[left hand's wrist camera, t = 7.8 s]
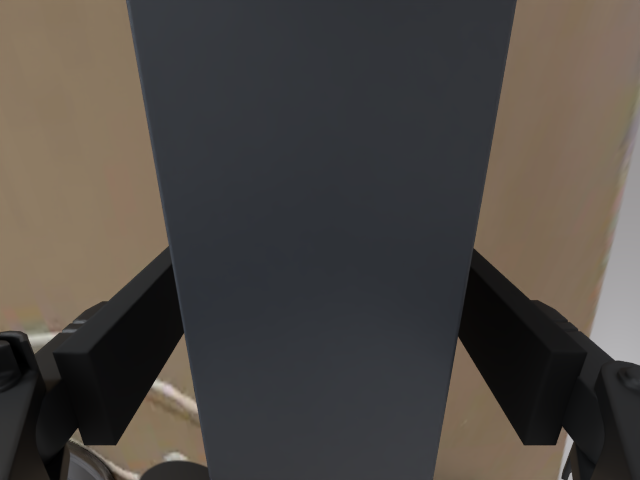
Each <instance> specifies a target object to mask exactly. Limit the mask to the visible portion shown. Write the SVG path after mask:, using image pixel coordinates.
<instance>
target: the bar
mask: <svg viewBox="0 0 640 480" xmlns="http://www.w3.org/2000/svg"><path fill="white" fill-rule="evenodd" d="M516 2H517V0H126V3H127V8H128V14H129V20H130V25H131V31H132V37H133V43H134V48H135V54H136V60H137V65H138V71H139V77H140V82H141V88H142V94H143V100H144V105H145V111H146V117H147V122H148V128H149V134H150V140H151V145H152V151H153V157H154V162H155V168H156V174H157V180H158V185H159V191H160V197H161V202H162V208H163V214H164V220H165V225H166V231H167V237H168V242H169V248H170V254H171V260H172V265H173V271H174V277H175V282H176V288H177V294H178V300H179V305H180V311H181V317H182V322H183V328H184V334H185V340H186V345H187V351H188V357H189V362H190V368H191V374H192V380H193V385H194V391H195V397H196V402H197V408H198V414H199V420H200V425H201V431H202V437H203V442H204V448H205V454H206V460H207V465H208V471H209V476H210V480H433V476H434V470H435V464H436V458H437V453H438V447H439V441H440V436H441V430H442V424H443V419H444V413H445V407H446V401H447V396H448V390H449V384H450V379H451V373H452V367H453V361H454V356H455V350H456V344H457V339H458V333H459V327H460V321H461V316H462V310H463V304H464V299H465V293H466V287H467V281H468V276H469V270H470V264H471V259H472V253H473V247H474V241H475V236H476V230H477V224H478V219H479V213H480V207H481V202H482V196H483V190H484V184H485V179H486V173H487V167H488V162H489V156H490V150H491V144H492V139H493V133H494V127H495V122H496V116H497V110H498V104H499V99H500V93H501V87H502V82H503V76H504V70H505V64H506V59H507V53H508V47H509V42H510V36H511V30H512V24H513V19H514V13H515V7H516Z"/></svg>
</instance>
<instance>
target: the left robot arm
mask: <svg viewBox="0 0 640 480" xmlns="http://www.w3.org/2000/svg"><path fill="white" fill-rule="evenodd" d="M183 334H184V328H183V322H182V317H181V311H180V305H179V300H178V294H177V288H176V282H175V277H174V271H173V265H172V260H171V254H170V248H169V246H168V247H167V248H166V249H165V250H164V251H163V252H162V253H161V254H160V255H158V256H157V257H156V258H155V259H154V260H153V261H152V262H151V263H150V264H149V265H148V266H146V267H145V268H144V269H143V270H142V271H141V272H140V273H139V274H138V275H137V276H135V277H134V278H133V279H132V280H131V281H130V282H129V283H128V284H127V285H126V286H125V287H123V288H122V289H121V290H120V291H119V292H118V293H117V294H116V295H115V296H114V297H112V298H111V299H110V300H109V301H102V302H100V303H99V304H97V305H95V306H93V307H91V308H89V309H87V310H85V311H84V312H83V313H82V314H81V315H80V316H78V317H77V318H76V319H75V320H74V321H73V323H71V324H69V325H68V326H67V327H66V328H64V329H63V330H62V333H59V334H58V335H56V336H55V337H54V338H53V339H52V340H51V341H49V342H48V343H47V344H46V345H45V346H44V347H42V348H41V349H40V350H39V351H38V352H37V353H36V354H34V353H33V350H32V347H31V344H30V342H29V339H28V336H27V334H25V333H23V332H21V331H5V332H0V480H114V478H113V476H112V475H111V473H110V472H109V470H108V469H107V468H106V467H105V465H104V464H103V463H102V462H101V461H100V460H99V459H97V458H96V457H95V456H94V455H93V454H91V453H90V452H88V451H87V450H85V449H84V448H82V447H80V446H78V445H76V444H74V443H72V442H70V441H68V440H69V439H70V437H71V436H72V435H73V433H74V432H75V431H76V429H77V428H79V431H80V434H81V437H82V440H83V443H84V445H116V444H117V443H118V441H119V439H120V438H121V436H122V434H123V433H124V431H125V429H126V428H127V426H128V424H129V423H130V421H131V420H132V418H133V416H134V415H135V413H136V411H137V410H138V408H139V406H140V405H141V403H142V401H143V400H144V398H145V396H146V395H147V393H148V391H149V390H150V388H151V386H152V385H153V383H154V382H155V380H156V378H157V377H158V375H159V373H160V372H161V370H162V368H163V367H164V365H165V363H166V362H167V360H168V358H169V357H170V355H171V353H172V352H173V350H174V348H175V347H176V345H177V344H178V342H179V340H180V339H181V337H182V335H183ZM458 337H459V339H460V340H461V342H462V344H463V345H464V347H465V348H466V350H467V352H468V353H469V355H470V357H471V358H472V360H473V362H474V363H475V365H476V367H477V368H478V370H479V372H480V373H481V375H482V377H483V378H484V380H485V382H486V383H487V385H488V386H489V388H490V390H491V391H492V393H493V395H494V396H495V398H496V400H497V401H498V403H499V405H500V406H501V408H502V410H503V411H504V413H505V415H506V416H507V418H508V420H509V421H510V423H511V424H512V426H513V428H514V429H515V431H516V433H517V434H518V436H519V438H520V439H521V441H522V443H523V444H524V445H556V443H557V440H558V437H559V434H560V431H561V428H562V426H563V428H564V429H565V430H566V432H567V433H568V434H569V435H570V437H571V438H572V439H573V441H574V442H573V445H572V448H571V450H570V453H569V456H568V458H567V461H566V464H565V466H564V469H563V473H562V479H564V480H568V477H569V474H570V473H571V472H572V477H573V480H640V366H639V365H637V364H634V363H629V362H624V361H615V360H614V359H612V358H611V357H610V356H609V355H608V354H607V353H605V352H604V351H603V350H602V349H601V348H600V347H598V346H597V345H596V344H595V343H594V342H593V341H591V340H590V339H589V338H588V337H587V336H586V335H584V334H583V333H582V332H581V331H578V329H577V328H576V327H575V326H574V325H573V324H572V323H570V322H568V320H567V319H566V318H565V317H563V316H562V315H561V314H560V313H559V312H558V311H556V310H555V309H553V308H552V307H550V306H548V305H546V304H544V303H542V302H540V301H538V300H530V299H529V298H528V297H526V296H525V295H524V294H523V293H522V292H521V291H520V290H519V289H518V288H517V287H515V286H514V285H513V284H512V283H511V282H510V281H509V280H508V279H507V278H506V277H505V276H503V275H502V274H501V273H500V272H499V271H498V270H497V269H496V268H495V267H494V266H492V265H491V264H490V263H489V262H488V261H487V260H486V259H485V258H484V257H483V256H482V255H480V254H479V253H478V252H477V251H476V250H475V249H474V248H473V253H472V259H471V264H470V270H469V276H468V281H467V287H466V293H465V299H464V304H463V310H462V316H461V321H460V327H459V333H458Z"/></svg>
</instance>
